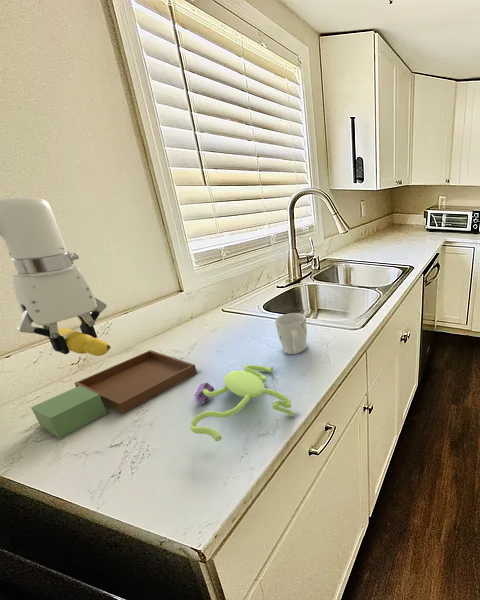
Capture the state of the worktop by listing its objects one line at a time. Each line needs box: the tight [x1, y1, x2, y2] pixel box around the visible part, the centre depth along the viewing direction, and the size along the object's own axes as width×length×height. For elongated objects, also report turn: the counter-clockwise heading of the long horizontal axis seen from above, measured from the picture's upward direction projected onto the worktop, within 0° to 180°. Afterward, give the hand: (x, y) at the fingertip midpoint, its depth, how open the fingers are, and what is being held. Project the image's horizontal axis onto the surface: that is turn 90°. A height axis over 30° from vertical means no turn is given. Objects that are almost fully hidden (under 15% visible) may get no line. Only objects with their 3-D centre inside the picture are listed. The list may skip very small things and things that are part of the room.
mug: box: [274, 312, 308, 355], centre depth 94 cm, size 11×8×10 cm
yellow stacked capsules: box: [58, 327, 111, 357], centre depth 69 cm, size 17×4×4 cm, turn 66°
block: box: [30, 386, 108, 439], centre depth 69 cm, size 8×8×5 cm
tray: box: [74, 349, 198, 414], centre depth 82 cm, size 19×17×3 cm
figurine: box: [189, 364, 295, 442], centre depth 73 cm, size 18×27×6 cm
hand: (77, 346), depth 69 cm, fingers closed on yellow stacked capsules, 4 cm apart
